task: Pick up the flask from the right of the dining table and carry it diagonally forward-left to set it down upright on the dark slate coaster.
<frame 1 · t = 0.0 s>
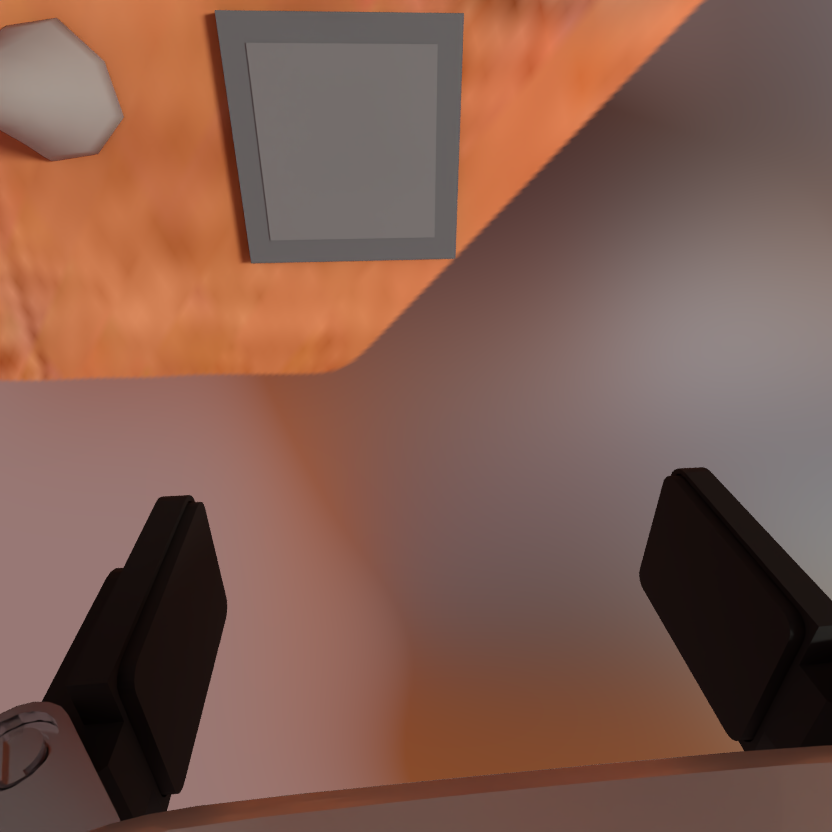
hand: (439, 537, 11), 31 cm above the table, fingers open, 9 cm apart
flask: (58, 93, 33), on the table
slate coaster: (348, 147, 36), on the table
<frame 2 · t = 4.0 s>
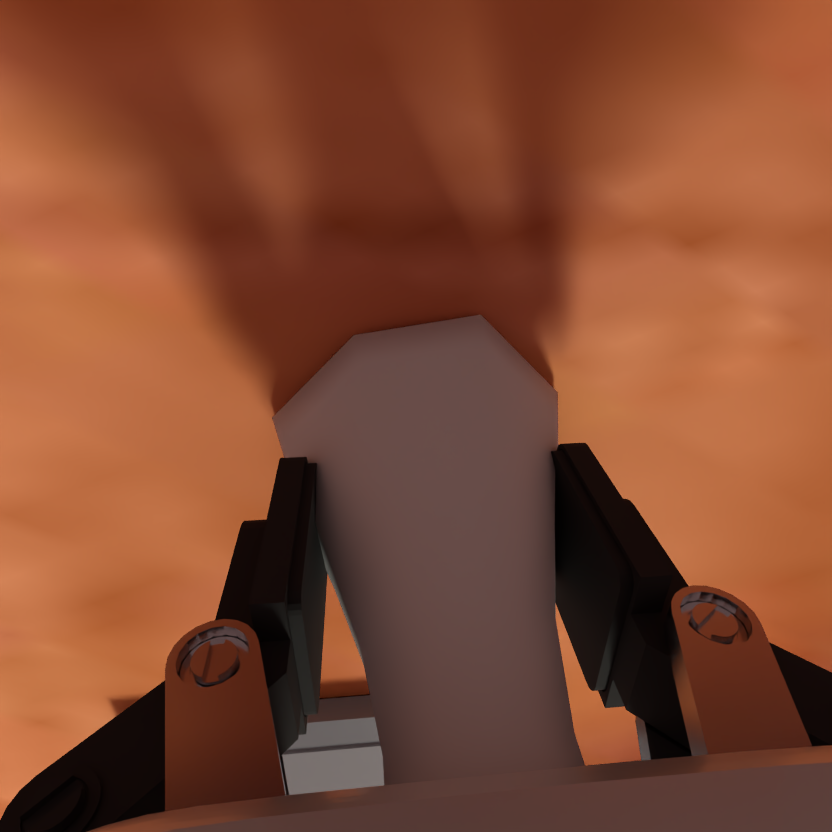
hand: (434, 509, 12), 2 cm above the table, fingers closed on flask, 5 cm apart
flask: (422, 443, 15), on the table, touching gripper
slate coaster: (346, 805, 23), on the table
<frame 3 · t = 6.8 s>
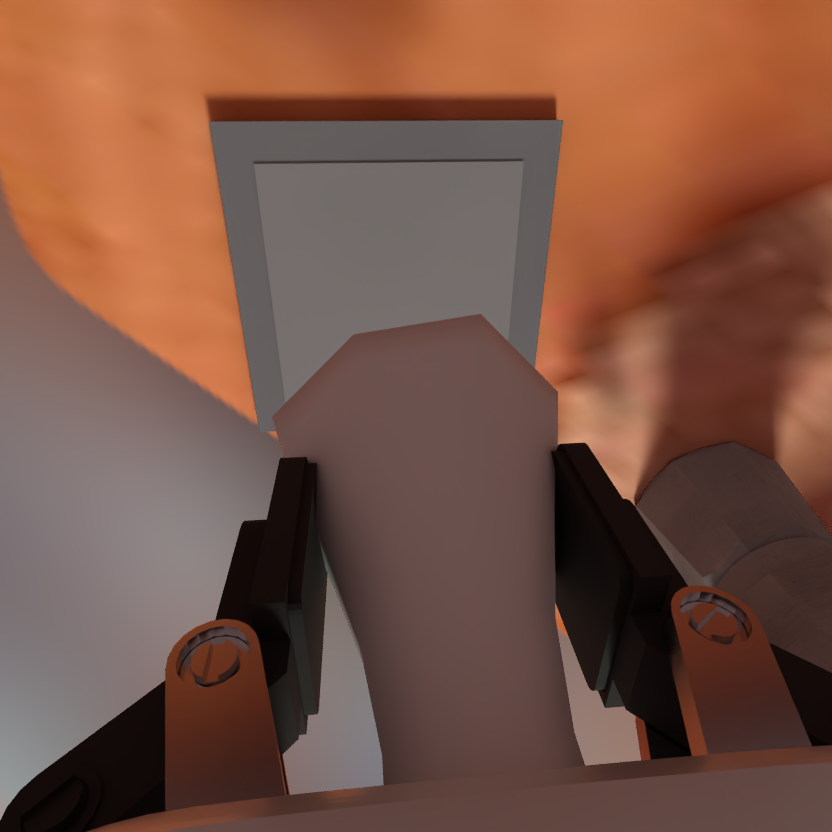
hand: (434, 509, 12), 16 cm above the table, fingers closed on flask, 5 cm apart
flask: (422, 443, 15), point 14 cm above the table, touching gripper
coffeepot: (686, 500, 35), on the table
slate coaster: (392, 288, 26), on the table
when the fingers open (4 cm above the table, at t = 9.7 s): flask stays where it is, resting on slate coaster.
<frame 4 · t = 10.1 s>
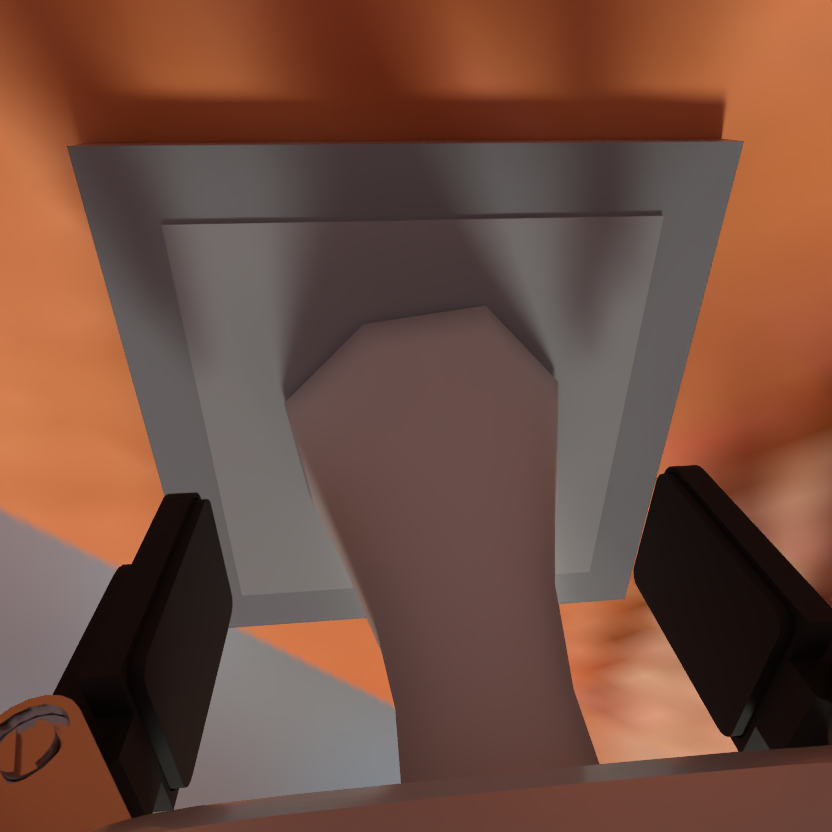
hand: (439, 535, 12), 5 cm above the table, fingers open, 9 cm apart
flask: (427, 430, 15), point 1 cm above the table, touching slate coaster
slate coaster: (417, 418, 16), on the table
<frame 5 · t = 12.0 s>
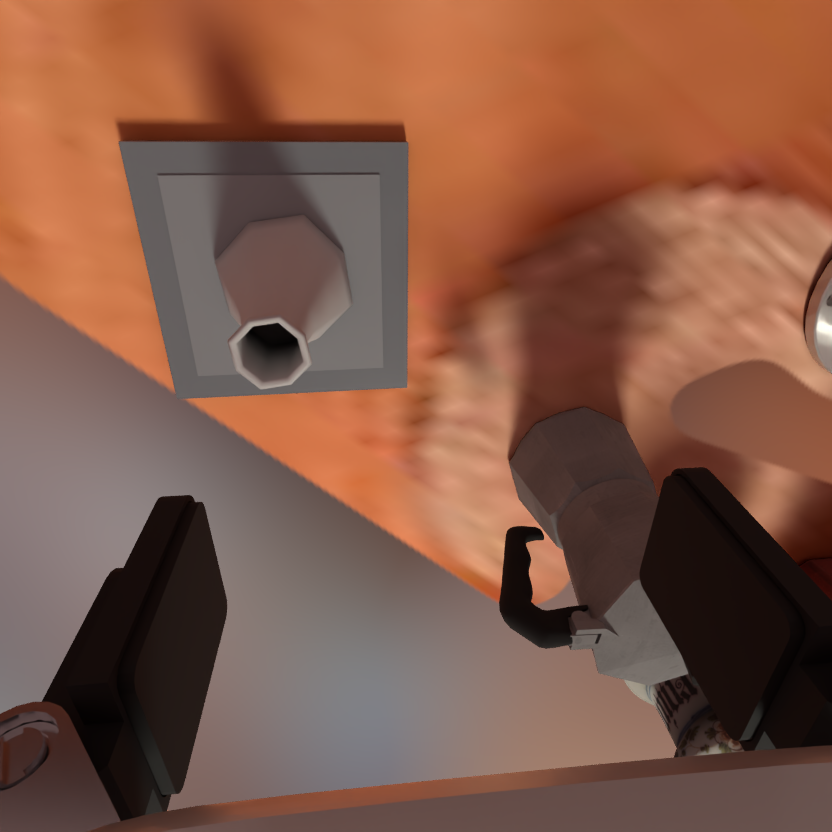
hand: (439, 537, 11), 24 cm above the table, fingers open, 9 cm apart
apothecary jar: (657, 596, 51), on the table
flask: (286, 280, 31), point 1 cm above the table, touching slate coaster
coffeepot: (553, 458, 41), on the table
slate coaster: (283, 277, 32), on the table
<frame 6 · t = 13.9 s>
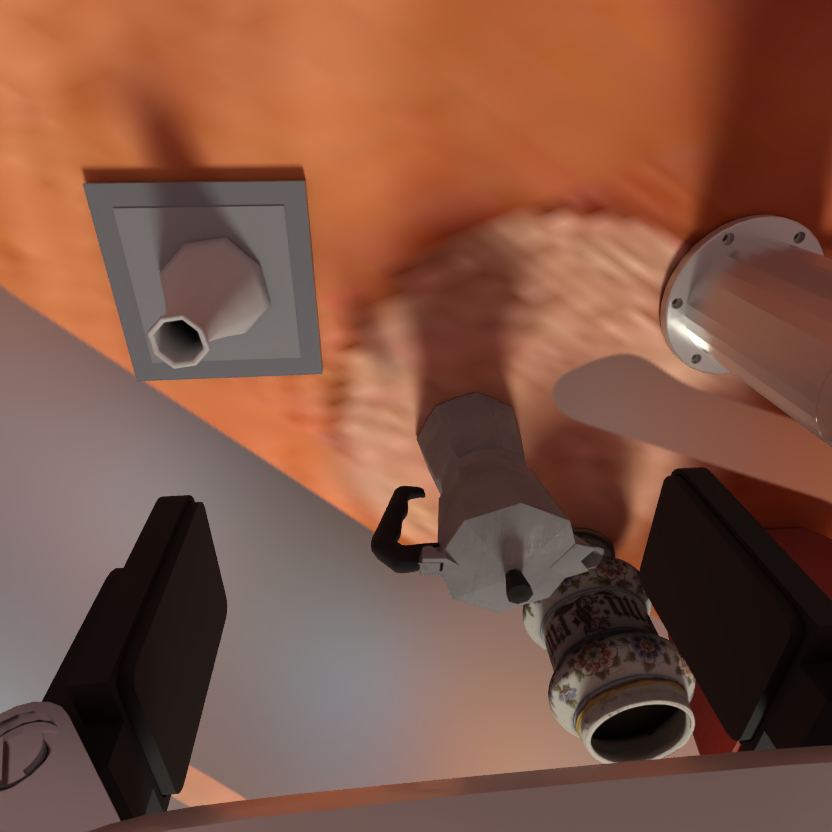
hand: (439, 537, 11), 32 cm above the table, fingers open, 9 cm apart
apothecary jar: (566, 562, 58), on the table
flask: (217, 287, 40), point 1 cm above the table, touching slate coaster
plant pot: (733, 571, 61), on the table
coffeepot: (456, 436, 49), on the table
slate coaster: (217, 285, 40), on the table
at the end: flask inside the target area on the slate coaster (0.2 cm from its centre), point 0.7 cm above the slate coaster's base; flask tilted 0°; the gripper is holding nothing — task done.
